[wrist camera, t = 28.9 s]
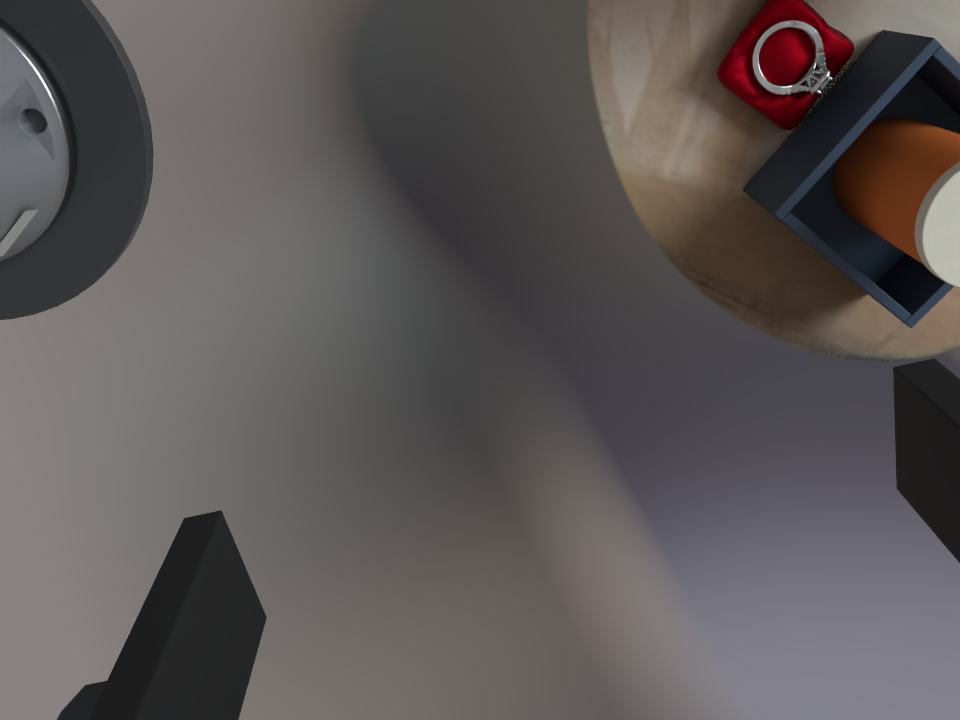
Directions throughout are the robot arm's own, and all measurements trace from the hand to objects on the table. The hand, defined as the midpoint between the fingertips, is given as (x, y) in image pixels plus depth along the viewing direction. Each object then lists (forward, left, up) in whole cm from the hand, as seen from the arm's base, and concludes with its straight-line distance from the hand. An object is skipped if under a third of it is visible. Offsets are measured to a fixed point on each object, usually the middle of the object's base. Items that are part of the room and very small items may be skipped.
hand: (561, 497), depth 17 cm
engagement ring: (+10, +14, -37) cm, 41 cm away
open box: (+20, +12, -37) cm, 43 cm away
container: (+20, +13, -36) cm, 43 cm away
